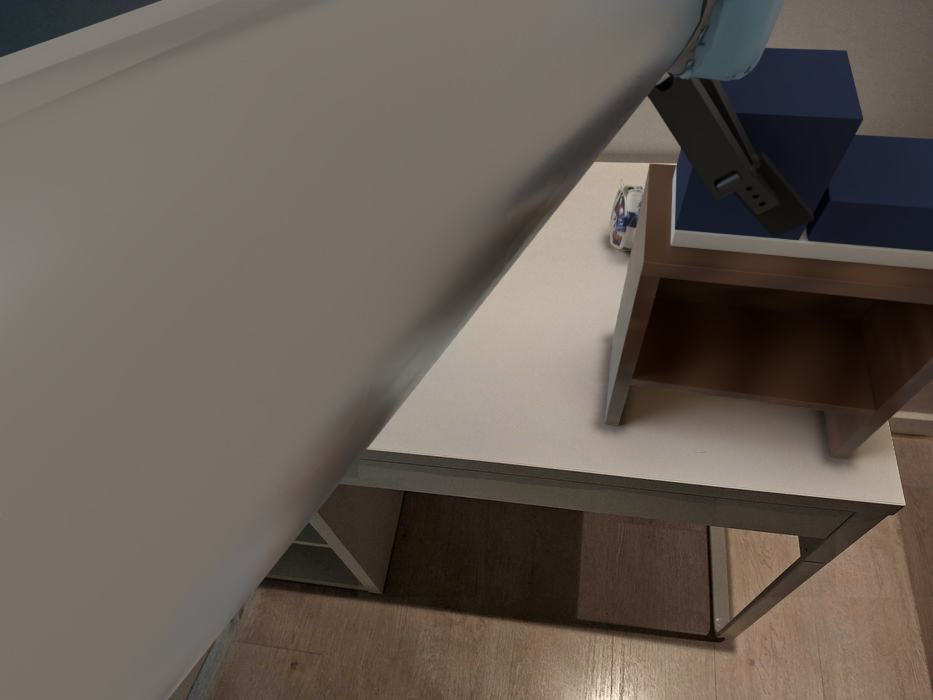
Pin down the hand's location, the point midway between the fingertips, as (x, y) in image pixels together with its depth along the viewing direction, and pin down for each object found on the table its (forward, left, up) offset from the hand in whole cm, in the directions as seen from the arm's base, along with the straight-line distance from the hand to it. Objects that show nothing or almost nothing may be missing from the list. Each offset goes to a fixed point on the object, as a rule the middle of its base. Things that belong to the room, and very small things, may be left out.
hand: (785, 165), depth 44 cm
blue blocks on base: (+1, -4, -5) cm, 7 cm away
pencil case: (+24, +7, -33) cm, 42 cm away
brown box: (+1, -4, -33) cm, 34 cm away
